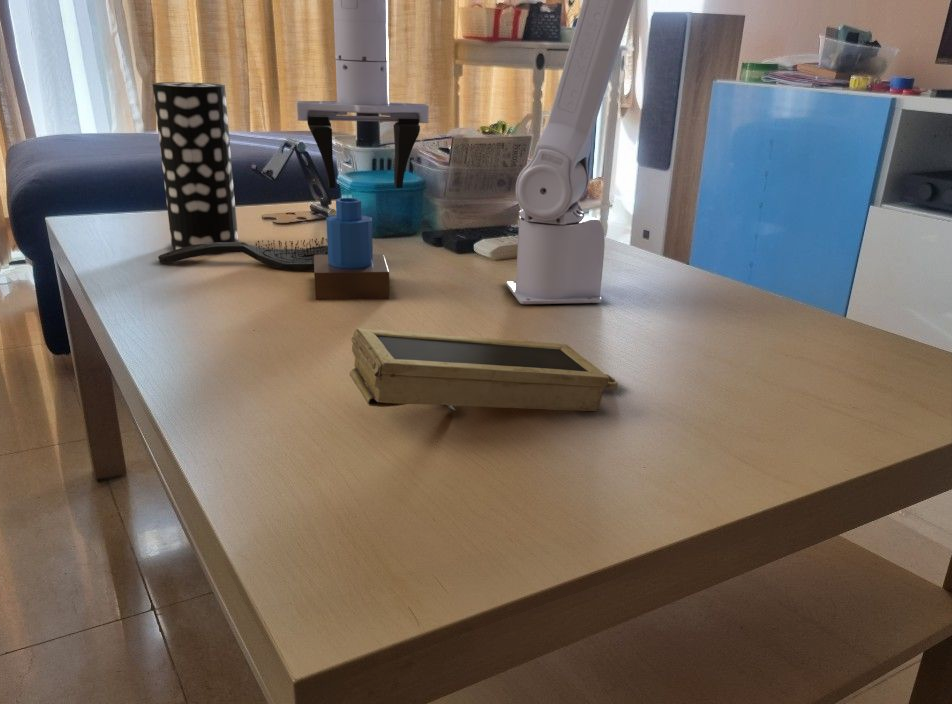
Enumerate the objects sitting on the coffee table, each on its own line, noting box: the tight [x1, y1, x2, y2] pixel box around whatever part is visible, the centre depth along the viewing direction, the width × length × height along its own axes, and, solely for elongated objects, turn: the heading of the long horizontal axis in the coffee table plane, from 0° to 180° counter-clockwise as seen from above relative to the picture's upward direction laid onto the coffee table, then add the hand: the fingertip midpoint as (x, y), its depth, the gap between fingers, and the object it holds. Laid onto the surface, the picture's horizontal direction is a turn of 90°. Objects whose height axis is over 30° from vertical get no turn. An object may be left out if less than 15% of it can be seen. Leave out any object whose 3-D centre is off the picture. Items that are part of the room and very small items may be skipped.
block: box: [313, 253, 391, 301], centre depth 95 cm, size 8×8×3 cm
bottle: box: [325, 197, 374, 269], centre depth 93 cm, size 5×5×7 cm
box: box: [349, 327, 619, 412], centre depth 66 cm, size 8×22×5 cm, turn 114°
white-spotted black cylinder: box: [152, 81, 239, 255], centre depth 106 cm, size 8×8×20 cm
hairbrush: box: [157, 237, 328, 272], centre depth 103 cm, size 8×4×25 cm
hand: (365, 186), depth 97 cm, fingers open, 7 cm apart
